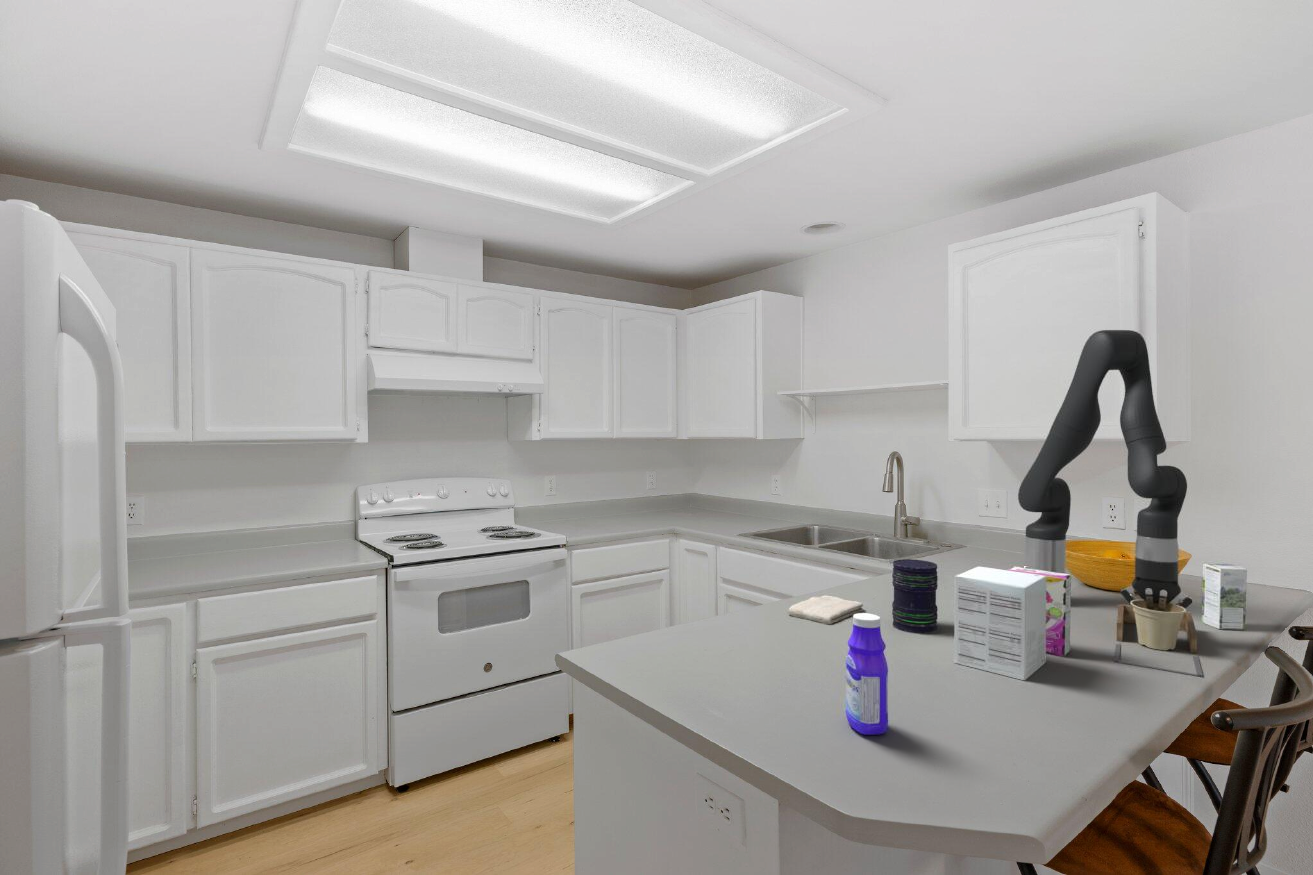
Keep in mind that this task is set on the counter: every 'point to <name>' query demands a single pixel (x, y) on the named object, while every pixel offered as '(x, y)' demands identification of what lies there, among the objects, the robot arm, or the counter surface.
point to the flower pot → (1157, 624)
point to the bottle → (867, 677)
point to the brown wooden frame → (1128, 616)
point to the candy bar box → (1055, 609)
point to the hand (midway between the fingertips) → (1155, 635)
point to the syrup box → (1224, 596)
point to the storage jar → (915, 596)
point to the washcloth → (825, 609)
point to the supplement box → (1000, 621)
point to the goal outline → (1196, 661)
